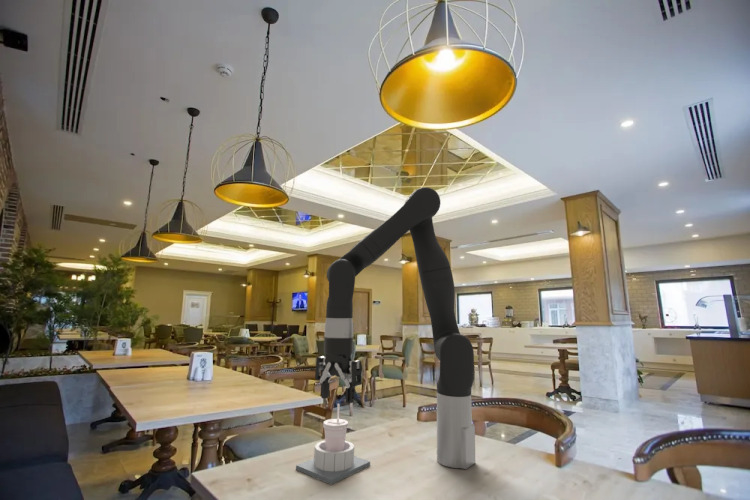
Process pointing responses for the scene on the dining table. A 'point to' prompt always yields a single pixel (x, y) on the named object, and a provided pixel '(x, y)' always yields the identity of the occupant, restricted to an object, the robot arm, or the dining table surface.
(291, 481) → the dining table surface
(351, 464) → the holder
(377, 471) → the dining table surface
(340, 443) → the smoothie
